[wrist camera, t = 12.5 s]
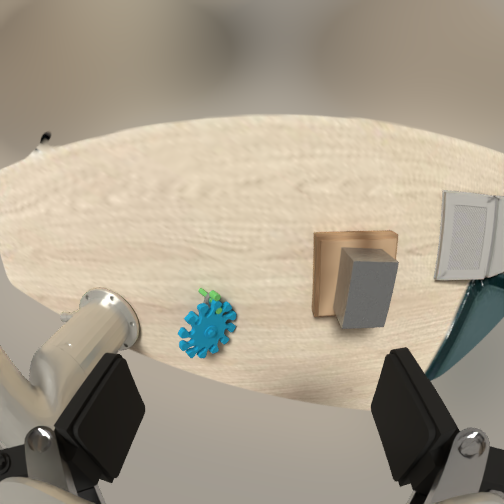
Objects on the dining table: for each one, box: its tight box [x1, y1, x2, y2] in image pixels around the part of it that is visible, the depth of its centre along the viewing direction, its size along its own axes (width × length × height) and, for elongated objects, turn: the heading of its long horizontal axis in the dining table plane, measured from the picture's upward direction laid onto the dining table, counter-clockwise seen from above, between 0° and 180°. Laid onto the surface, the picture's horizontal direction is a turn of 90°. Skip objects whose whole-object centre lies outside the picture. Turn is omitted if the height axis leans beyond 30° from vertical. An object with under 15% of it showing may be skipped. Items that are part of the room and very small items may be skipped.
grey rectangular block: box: [333, 247, 399, 329], centre depth 34 cm, size 9×6×6 cm, turn 179°
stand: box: [312, 231, 398, 317], centre depth 38 cm, size 12×12×3 cm
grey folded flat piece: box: [434, 190, 504, 280], centre depth 35 cm, size 23×15×4 cm, turn 94°
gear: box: [178, 288, 236, 358], centre depth 40 cm, size 11×6×10 cm
